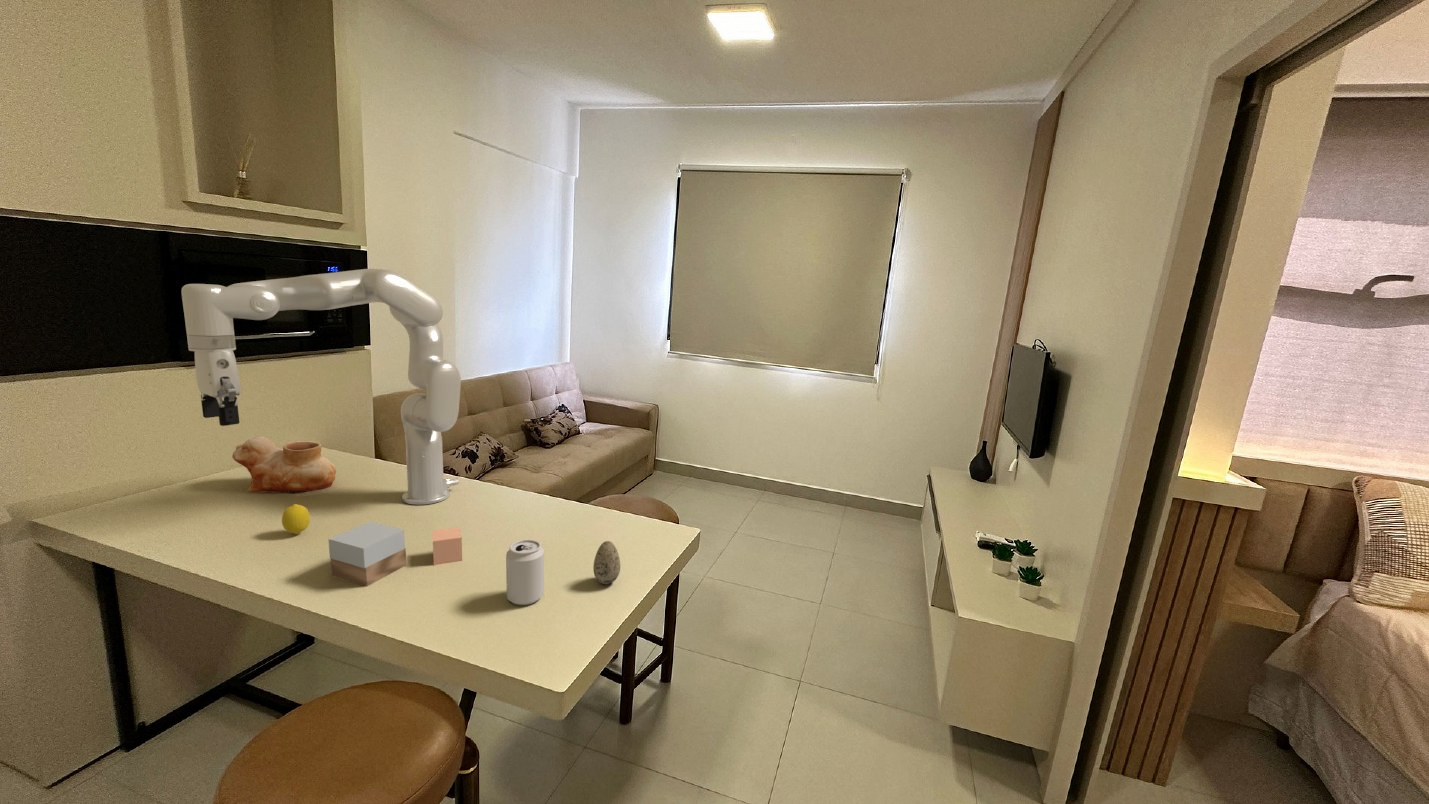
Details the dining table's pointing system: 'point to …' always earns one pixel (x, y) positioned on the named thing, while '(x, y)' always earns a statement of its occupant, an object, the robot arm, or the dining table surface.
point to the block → (447, 545)
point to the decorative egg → (606, 563)
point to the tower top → (366, 544)
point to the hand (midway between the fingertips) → (221, 420)
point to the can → (525, 572)
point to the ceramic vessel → (285, 466)
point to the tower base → (368, 569)
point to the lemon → (295, 519)
